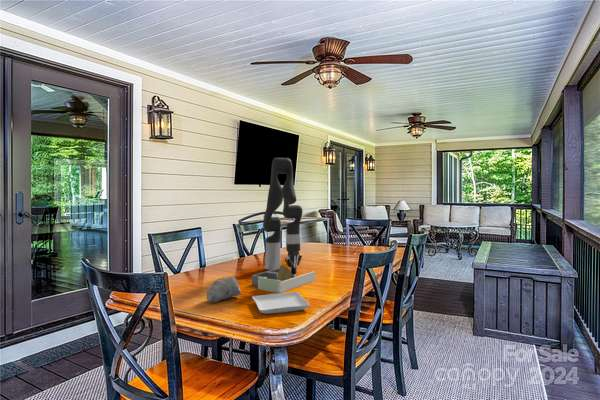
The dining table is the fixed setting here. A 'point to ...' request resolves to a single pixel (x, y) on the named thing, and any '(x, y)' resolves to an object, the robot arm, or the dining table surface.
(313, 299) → the dining table surface
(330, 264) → the dining table surface
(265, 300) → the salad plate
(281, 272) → the rock
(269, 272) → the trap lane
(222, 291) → the gray stone
